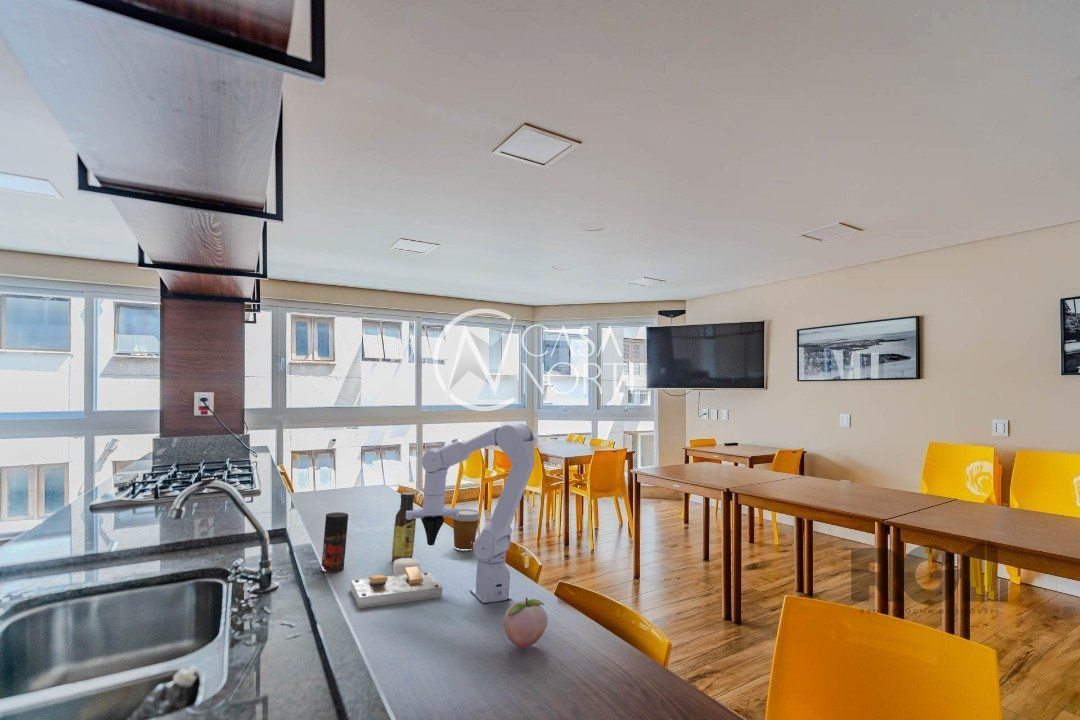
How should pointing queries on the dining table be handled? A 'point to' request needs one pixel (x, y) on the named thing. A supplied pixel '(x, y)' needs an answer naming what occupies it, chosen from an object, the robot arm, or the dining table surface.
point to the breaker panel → (394, 590)
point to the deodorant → (334, 542)
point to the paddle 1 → (378, 578)
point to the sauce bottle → (404, 529)
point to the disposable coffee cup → (465, 528)
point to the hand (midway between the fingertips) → (430, 544)
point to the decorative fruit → (525, 622)
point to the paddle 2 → (413, 575)
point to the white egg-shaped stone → (404, 565)
